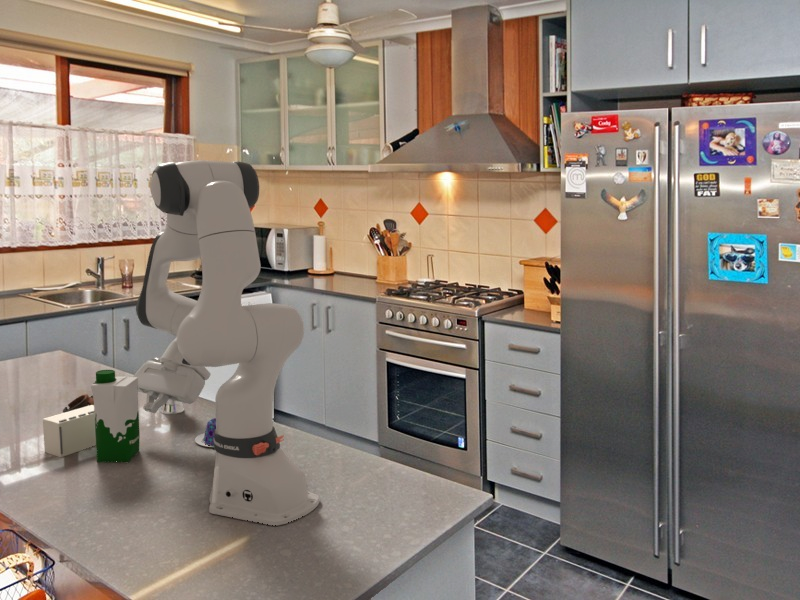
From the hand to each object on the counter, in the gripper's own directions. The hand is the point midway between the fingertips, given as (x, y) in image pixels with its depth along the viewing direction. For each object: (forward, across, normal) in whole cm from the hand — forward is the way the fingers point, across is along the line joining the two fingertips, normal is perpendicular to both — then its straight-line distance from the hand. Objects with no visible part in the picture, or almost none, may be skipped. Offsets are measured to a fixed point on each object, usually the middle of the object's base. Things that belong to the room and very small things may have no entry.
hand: (148, 411), depth 176 cm
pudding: (-2, +11, +15) cm, 19 cm away
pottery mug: (+4, -28, +8) cm, 29 cm away
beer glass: (-9, -16, +21) cm, 28 cm away
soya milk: (+12, 0, 0) cm, 13 cm away
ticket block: (+13, -14, -1) cm, 19 cm away
